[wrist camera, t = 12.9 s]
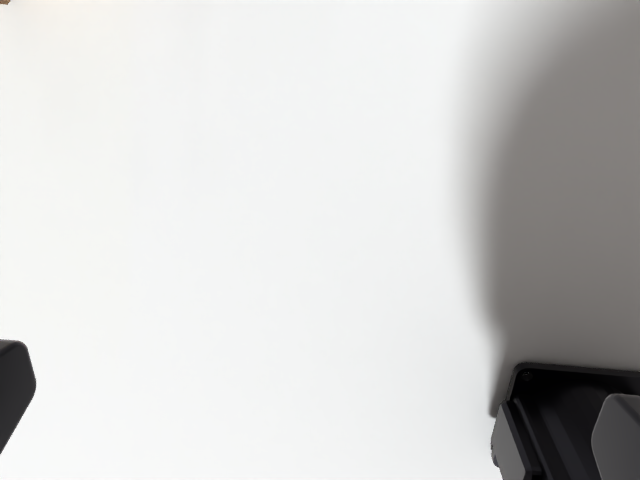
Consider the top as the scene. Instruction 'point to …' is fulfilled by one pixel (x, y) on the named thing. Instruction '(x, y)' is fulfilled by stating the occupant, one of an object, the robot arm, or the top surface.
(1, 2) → the box
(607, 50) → the top surface
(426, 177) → the top surface
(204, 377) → the top surface
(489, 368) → the top surface
